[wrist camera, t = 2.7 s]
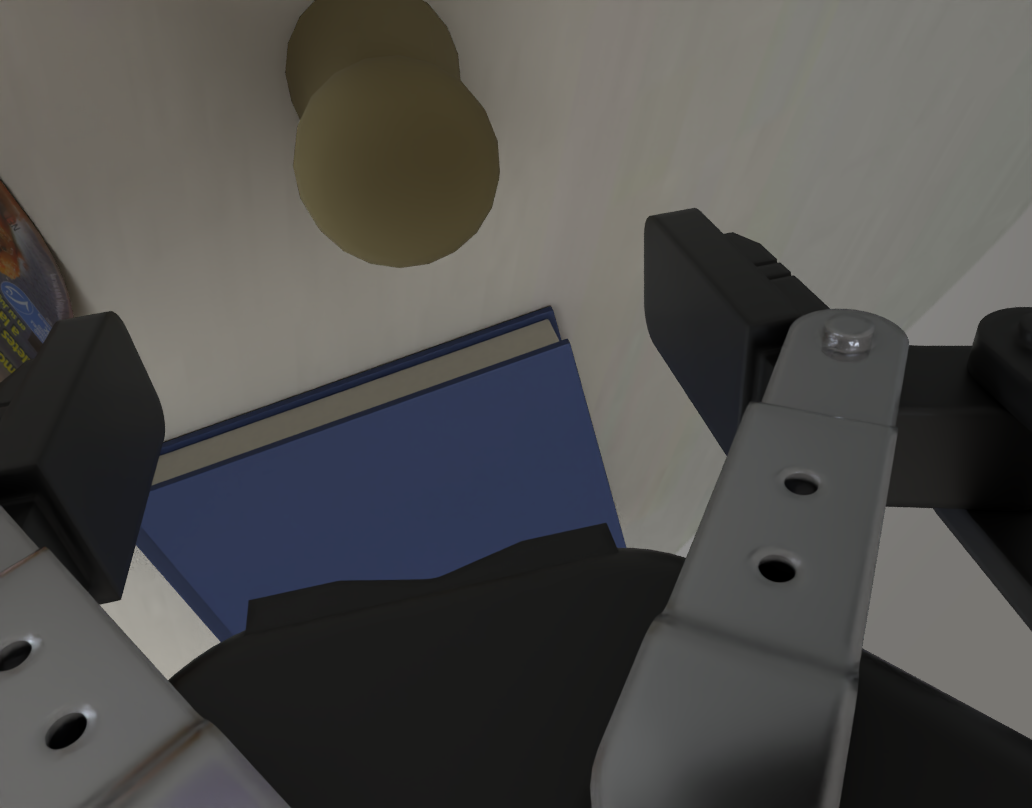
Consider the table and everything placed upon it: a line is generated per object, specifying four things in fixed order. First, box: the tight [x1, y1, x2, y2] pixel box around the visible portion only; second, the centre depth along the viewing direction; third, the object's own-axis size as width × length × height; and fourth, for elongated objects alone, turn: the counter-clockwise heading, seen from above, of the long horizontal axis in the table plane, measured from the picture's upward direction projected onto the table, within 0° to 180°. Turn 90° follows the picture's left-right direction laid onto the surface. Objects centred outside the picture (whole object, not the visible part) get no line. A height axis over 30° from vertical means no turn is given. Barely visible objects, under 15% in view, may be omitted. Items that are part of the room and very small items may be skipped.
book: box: [136, 306, 626, 642], centre depth 37 cm, size 20×14×3 cm
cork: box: [285, 0, 500, 268], centre depth 23 cm, size 6×6×11 cm
